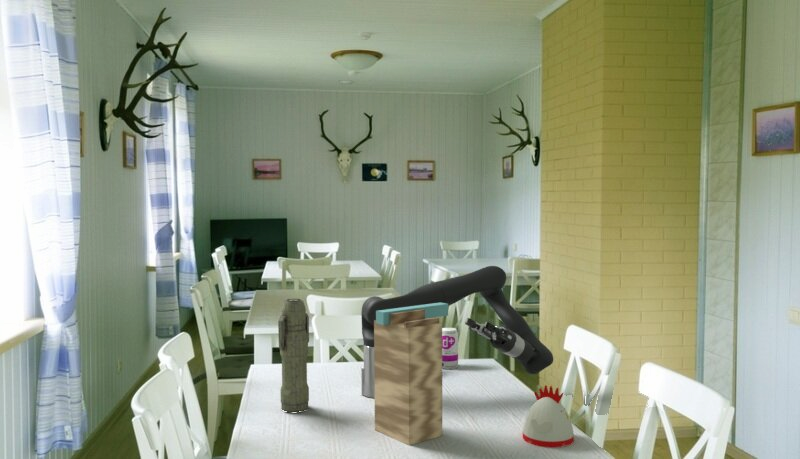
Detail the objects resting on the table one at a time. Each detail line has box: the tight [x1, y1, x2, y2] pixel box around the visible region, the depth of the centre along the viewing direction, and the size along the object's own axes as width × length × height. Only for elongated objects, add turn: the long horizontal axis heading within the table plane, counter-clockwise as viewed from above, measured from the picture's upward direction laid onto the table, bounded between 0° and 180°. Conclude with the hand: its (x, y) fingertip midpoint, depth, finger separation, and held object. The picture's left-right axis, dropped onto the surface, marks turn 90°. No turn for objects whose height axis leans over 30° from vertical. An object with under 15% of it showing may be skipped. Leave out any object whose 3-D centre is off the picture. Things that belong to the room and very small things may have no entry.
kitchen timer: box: [522, 384, 575, 448], centre depth 200 cm, size 14×14×15 cm
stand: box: [374, 309, 443, 446], centre depth 205 cm, size 12×16×35 cm
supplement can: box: [442, 327, 459, 370], centre depth 282 cm, size 8×8×15 cm
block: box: [376, 302, 449, 325], centre depth 208 cm, size 24×4×4 cm, turn 128°
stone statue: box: [277, 298, 310, 413], centre depth 228 cm, size 9×12×35 cm
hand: (475, 322), depth 224 cm, fingers open, 8 cm apart
